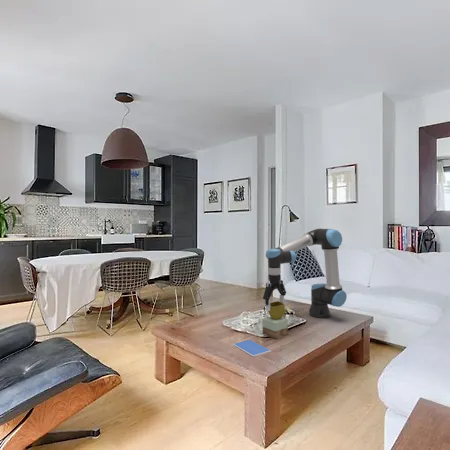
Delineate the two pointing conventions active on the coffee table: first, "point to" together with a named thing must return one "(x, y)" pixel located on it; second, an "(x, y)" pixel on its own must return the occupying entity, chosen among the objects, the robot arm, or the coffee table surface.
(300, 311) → the coffee table surface
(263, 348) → the tablet computer
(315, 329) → the coffee table surface
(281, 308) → the flower pot
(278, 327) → the top block
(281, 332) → the bottom block
